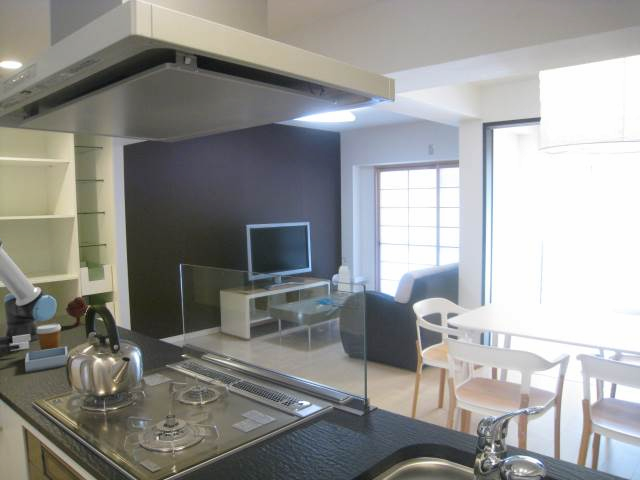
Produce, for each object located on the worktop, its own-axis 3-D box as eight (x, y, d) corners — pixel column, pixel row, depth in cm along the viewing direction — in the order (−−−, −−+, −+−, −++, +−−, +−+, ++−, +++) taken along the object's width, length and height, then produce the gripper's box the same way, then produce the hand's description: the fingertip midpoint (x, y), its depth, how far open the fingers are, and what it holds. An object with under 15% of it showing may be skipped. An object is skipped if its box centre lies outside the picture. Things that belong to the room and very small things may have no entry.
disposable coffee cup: (52, 357, 209) (50, 329, 208) (32, 357, 211) (30, 328, 210) (68, 350, 218) (65, 323, 217) (49, 350, 220) (46, 323, 219)
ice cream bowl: (86, 321, 274) (84, 294, 273) (92, 324, 265) (90, 296, 264) (65, 325, 267) (62, 297, 266) (70, 328, 259) (68, 299, 258)
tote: (27, 362, 204) (26, 352, 203) (67, 355, 211) (66, 346, 210) (25, 372, 191) (24, 362, 191) (68, 365, 198) (67, 355, 197)
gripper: (-27, 351, 212) (31, 342, 221) (-36, 367, 190) (28, 357, 199) (-28, 333, 211) (30, 326, 221) (-38, 348, 189) (27, 338, 199)
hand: (29, 340), depth 210 cm, fingers open, 13 cm apart
